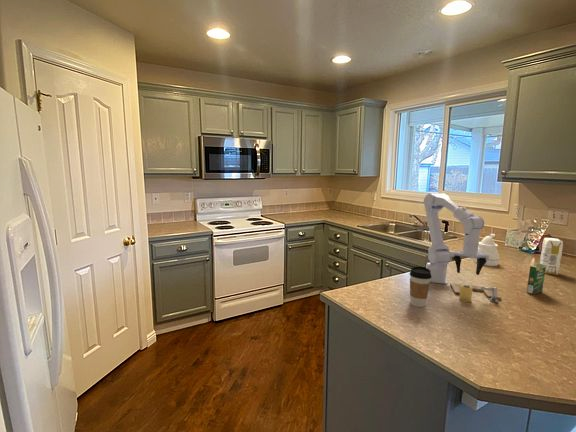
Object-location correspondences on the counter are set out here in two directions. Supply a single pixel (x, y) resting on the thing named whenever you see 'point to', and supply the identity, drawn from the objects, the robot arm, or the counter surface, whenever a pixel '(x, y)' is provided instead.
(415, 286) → the coffee cup
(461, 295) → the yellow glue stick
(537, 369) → the counter surface
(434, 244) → the robot arm
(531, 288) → the coffee box
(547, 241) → the juice carton
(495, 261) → the honey pot
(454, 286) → the brown u-shaped board
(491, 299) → the hook arm
